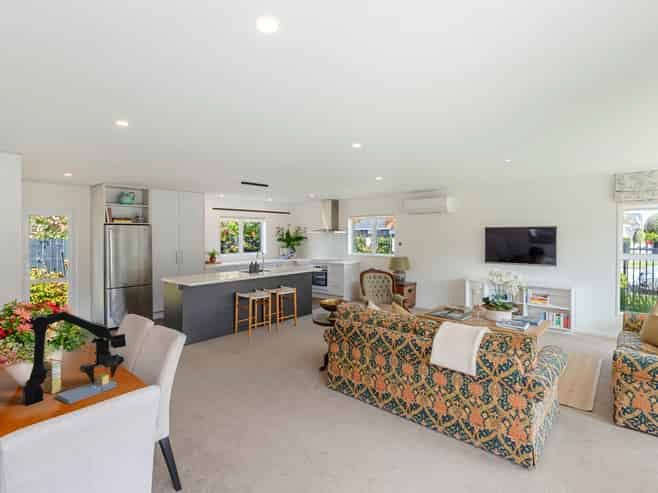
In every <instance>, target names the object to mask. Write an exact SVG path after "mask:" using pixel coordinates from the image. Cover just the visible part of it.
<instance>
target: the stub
mask: <svg viewBox="0 0 658 493" xmlns="http://www.w3.org/2000/svg"><path fill="white" fill-rule="evenodd" d="M109 376H110V375H109V374H106V373H100V374H97V375H96V380H94V384H92V382H89V383H88V384H90V385H93V386H96V387H99V388H101V392H102V393H103V392H106V391H109V390H113V389H114V388H117V384H118V383H117V382H115V381H112V380H109V378H110V377H109Z"/></svg>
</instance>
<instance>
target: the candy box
mask: <svg viewBox="0 0 658 493" xmlns="http://www.w3.org/2000/svg"><path fill="white" fill-rule="evenodd" d="M61 361H62V360H59V359H54V358H49V359H44V366H45V367H47V366H48V370H47V373H48V376H47V378H45V381H44V383H42V384H41V385H42V389H43V392H46V393H49V394H50V395H51V394H52V395H53V394H56V393H57V394H58V393H59V392H62V382H61V381H62V362H61Z"/></svg>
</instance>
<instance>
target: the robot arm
mask: <svg viewBox="0 0 658 493" xmlns="http://www.w3.org/2000/svg"><path fill="white" fill-rule="evenodd" d="M61 321H64V322H66V323H69V324H71V325H74V326H76V327H79V328H81V329H83V330H87V331H88V332H89V333H91V335H94V337H93V339H92V340H91V341H90V342H91V343H90V344H95V352H93V353H94V355H95V360H94V364H92V363H85V364H81V365H80V367H79V372H81V373H84V374H86V375H87V377H88V379H89V380H90V383H92V384H94V382H95V372H96V371H95V369H96V368H99V367H102V366H103V367H104V368H106V369H108V368H109V370H110V378H112V379H113V378H114V376H115V373H116V370H117V368H118V367H119V366H120V365H121V364H122V363H124V362H125V358H124V356H122V355H119V354H114V355H113V354H112V353H111V351H110V348H113V349H118V348H125V347H126V346H127V341H126V333H120V334H112V333H113V332H111V331H110V330H109V327H108V325H106V324H104V323H99V322H92V321H90V320H86V319H84V318H82V317H80V316H77V315H75V314H72V313H70V312H68V311H67V310H62V311H59V312H54V313H53V312H52V313H49V314H39V315H36V317H35V318H34V319H33V321H32V329H33V333H34V348H33V364H32V369H31V373H30V375H29V379H27V381H26V382H25V383H24V385H23V387H22V401H20V403H21V404H23V405H25V406H31V405H33V404H36V403H39V402H43V401H45V399H44V391H43V389H42V386H41V385H42V383H44V381H45V378H47V376H48V373H47V370H48V366H47V367H45V366H44V360H45V346H46V337H47V336H46V335H47V331H48V328H49V326H50V325H53V324H55V323H58V322H61Z"/></svg>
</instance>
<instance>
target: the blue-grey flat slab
mask: <svg viewBox="0 0 658 493" xmlns="http://www.w3.org/2000/svg"><path fill="white" fill-rule="evenodd" d="M101 393H103V392H101V388H99V387H96V386H93V385H90V384H89V383H87V384H83V385H81V386H78V387H75V388H72V389H68V390H66V391H63V392H62V391H61V392H60V393H59V392H58V393H57V394H56V393H55V394H56V396H55V397H56V398H55V399H57V400H59V401H61V402H64V403H65V404H68V405H71V404H74V403H76V402H78V401H81V400H84V399H87V398H90V397H92V396H96V395H99V394H101Z"/></svg>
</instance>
